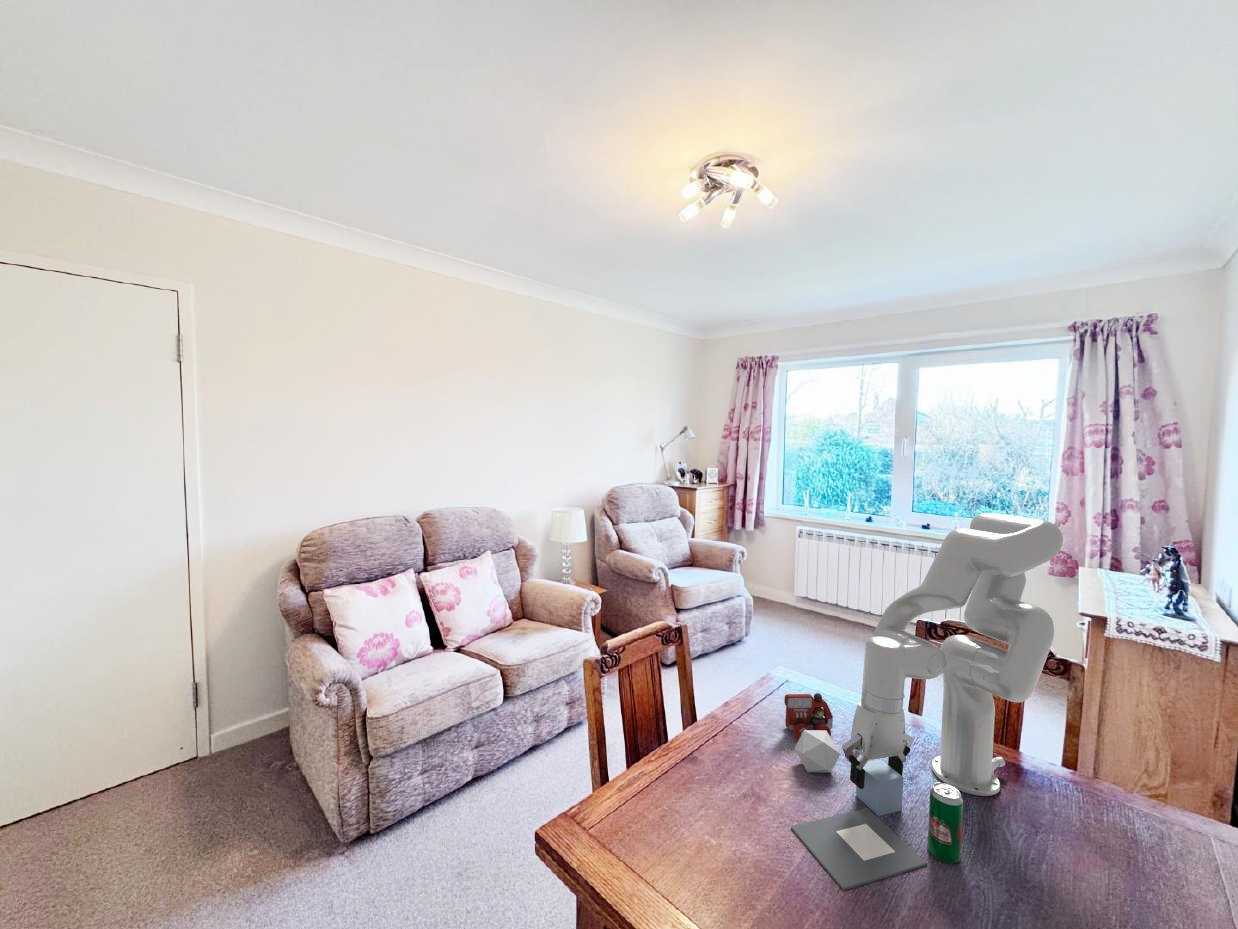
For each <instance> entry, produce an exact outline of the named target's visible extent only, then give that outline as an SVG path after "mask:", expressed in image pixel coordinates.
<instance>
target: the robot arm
mask: <svg viewBox="0 0 1238 929" xmlns="http://www.w3.org/2000/svg"><path fill="white" fill-rule="evenodd" d="M1063 538H1064V537H1063V533H1062V531H1061V530H1060V528H1059V526H1057V525H1056V524H1055V523H1053V522H1051V521H1048V520H1045V519H1040V518H1039V519H1038V518H1032V517H1025V516H1017V515H1011V514H1003V513H995V512H993V513H992V512H991V513H990V512H986V513H985V512H984V513H980V514H979V513H978V514H976V515H975V516H974V517H973V518H972V519H971V522H970V525H969V528H956V529H953V530H952V531H950V532H948V534H947V535H946V536H945V538H944V540H943V542H942V543H941V545H940V548H939V550H938V551H937V553H936V555H935V557H934V560H933V562H932V563H931V565H930V567H929V569H928V571H927V573H926V575H925V577H924V579H923V581H922V583H921V584H920V585H919V586H917V587H915V588H913V589H912V590H910V591H908V592H906V593H904V594H903V595H901V596H900V597H898V598H897V599H895V600H894V601H893V602H892V603H890V604H889V605H888V607H886V609H885V610H884V612H883V614H882V615H881V617H880V619H879V621H878V623H877V625H876V628H875V630H874V632H873V635H872V636H871V637H869V638H868V639H867V640H866V642H865V647H864V659H863V674H862V684H861V685H862V686H861V700H860V702H859V701H858V703H857V706H856V708H855V711H854V716H853V720H852V727H851V733H850V734H851V735H850V739H849V740H847V741H846V742H845V743H844V744H842V746H841V748H842V751H843V754H844V757H845V758H846V759H847V760H848V762H849V763H850V772H849V780H850V781H851V783H853V784H854V785H855V786H857V787H859V788H860V789H864V781H865V770H864V769H863V767H864V766H865V764H866V763H867V762H869V760H870V761H873V760H878V759H886V758H888V759H887V761H888V762H887V765H889V766H890V767H891V768H893V769H894V770H895V771H896V772H898V773H899V774H900V775H902V776H903V773H904V763H906V762H907V756H908V755H909V753H910V752H911V748H912V745H913V743H914V740H915V738H914V737H913V736H911V735H910V734H908V733H906V719H905V712H904V711H905V710H904V708H903V707H904V706H903V705H904V698H905V684H906V683H905V682H906V681H905V680H906V679H907V678H909V679H918V680H931V679H935V678H937V677H939V676H941V675H942V680H943V681H942V683H943V684H942V686H943V687H942V689H943V690H942V691H943V692H942V694H943V696H942V714H941V732H940V735H941V736H940V750H939V751H940V752H939V753H940V755H938V756H936V757H934V758H933V759H932V760H931V770H932V772H933V773H934V774H935V776H936V777H938V779H939V780H941V781H942V783H945V784H948V785H951V786H953V787H954V788H956V789H957V790H958V791H959V792H960V791H961V792H962V793H966V794H969V795H974V796H979V797H980V796H981V797H989V796H994V795H997V794H998V793H999V792H1000V789H1001V783H1000V780H999V779H998V777H997V776H996V775H995V774H994V773H995V772H994V771H995V770H997V768H1001V767H1004V766H1006V761H1005V759H1004V758H1003V757H1002V756H996V757H993V756H994V755H993V752H994V735H995V717H996V707H995V701H994V697H993V695H995V696H997V697H999V698H1002V699H1003V700H1007V701H1009V702H1013V703H1023V702H1026V701H1027V700H1029V698H1030V697H1031V696H1032V695H1033V693H1034V691H1035V690H1036V688H1037V685H1038V682H1039V680H1040V677H1041V674H1042V671H1043V669H1044V667H1045V664H1046V661H1047V658H1048V655H1049V653H1050V650H1051V647H1052V645H1053V644H1052V643H1053V642H1054V641H1053V640H1054V637H1055V624H1054V621H1053V618H1052V616H1051V615H1050V613H1049V612H1048V611H1047V610H1045V609H1043V608H1042V607H1039V606H1038V605H1034V604H1031V603H1027V602H1025V601H1022V596H1023V592H1024V589H1025V587H1026V582H1027V581H1026V580H1027V578H1026V573H1027V572H1028V571H1030V570H1032V569H1035V568H1037V567H1038V566H1041V565H1043V564H1045V563H1047V562H1049V561H1051V560H1052V559H1054V558H1056V556H1057V555H1058V554H1059V552H1060V551H1061V549H1062V547H1063V542H1064V539H1063ZM965 605H966V607H965V609H964V613H963V621H964V622H965V625H966V626H967V627H968V628H969V629H970V630H972V631H974V632H976V633H978V634H980V635H983V636H985V637H988V638H991V639H993V640H996V641H997V642H998V641H999V642H1002V643H1004V644H1006V645H1008V647H1007V648H1008V649H1004V648H1002V647H1000V646H996V645H994V644H991V643H989V642H985V641H984V640H981V639H977V638H975V637H973V636H969V635H965V634H955V635H953V634H952V635H950V636H948V637H946V638H945V640H943V642H942V644H940V645H941V646H940V647H939V646H938V645H936V644H934V643H933V642H931V641H929V640H926V639H923V638H921V637H919V636H916V635H915V634H912V633H909V632H907V631H906V629H907V628H908V626H909V624H911V622H912V621H914V619H916V618H918V617H920V616H922V615H924V614H927V613H931V612H938V611H944V610H947V611H948V610H955V609H960V608H963V607H964V606H965ZM860 755H861V758H860V759H859V760H858V758H859V756H860Z"/></svg>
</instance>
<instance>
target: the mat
mask: <svg viewBox="0 0 1238 929" xmlns="http://www.w3.org/2000/svg"><path fill="white" fill-rule="evenodd" d="M790 829H791V830H792V832H794V834H795V835H796V836H797V837H798V839H799V840H800V841H801V842H802V843H803V845H805V847H806V848H807V849H808V850H809V852H810V853H811V854H812V855H813V856H814V858H816V860H817V861H818V862H819V864H820V865H821V866H822V867H823V868H824V869H825V870H826V872H827V873H828V874H829V875H830V877H832V879H833V880H834V881H835V882H836V884H838V886H839V887H840V889H841V890H843V891H845V890H849V889H853V888H856V887H858V886H862V885H866V884H869V883H872V882H876V881H879V880H882V879H885V878H889V877H893V876H895V875H898V874H902V873H905V872H910V871H912V870H915V869H918V868H919V869H920V868H922V867H925V866H927V865H928V862H927V861H926V860H924V858H922V857H921V856H920V855H919V854H918V853H917V852H916V851H915V850H914V849H912V848H911V847H910V846H909V845H908V844H907V843H906V842H905V841H904V840H903V839H902V838H900V837H899V835H897V834H896V833H895V832H894V831H893V830H892V829H890V827H888V826H887V825H886V824H885V823H884V822H883V821H882V820H881V819H880V818H879V817H878V816H877V815H876V814H875V813H874V812H873V811H872V810H871V809H870V808H868V807H864V808H862V809H856V810H853V811H849V812H845V813H840V814H836V815H832V816H828V817H824V818H820V819H816V820H811V821H808V822H803V823H801V824H796V825H792V826H790Z"/></svg>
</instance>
